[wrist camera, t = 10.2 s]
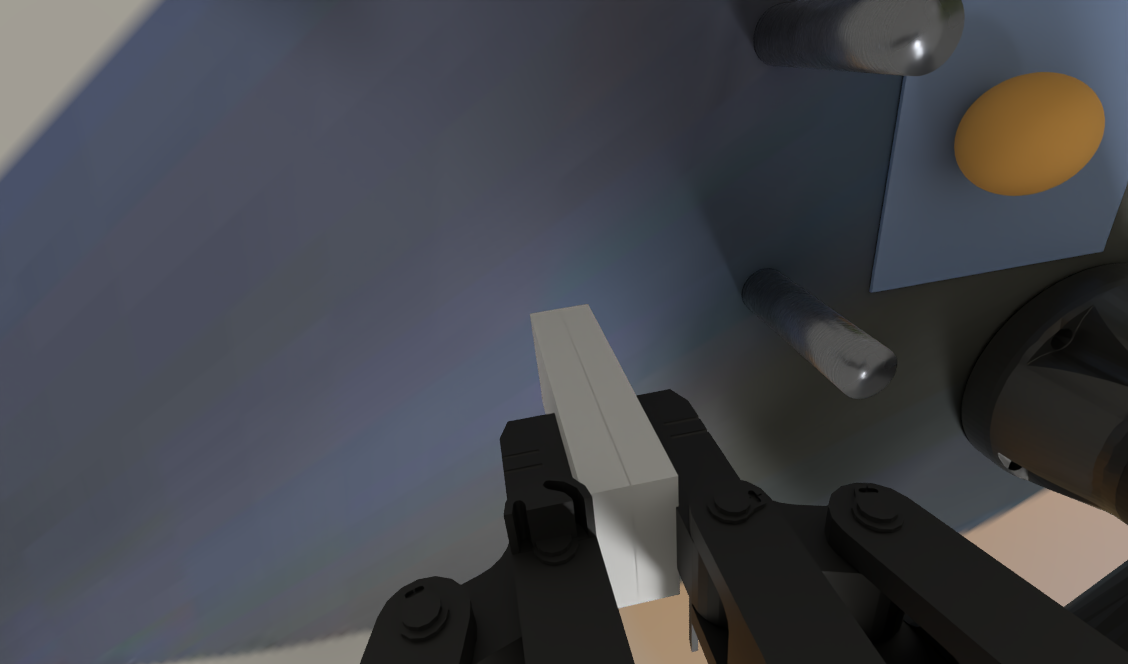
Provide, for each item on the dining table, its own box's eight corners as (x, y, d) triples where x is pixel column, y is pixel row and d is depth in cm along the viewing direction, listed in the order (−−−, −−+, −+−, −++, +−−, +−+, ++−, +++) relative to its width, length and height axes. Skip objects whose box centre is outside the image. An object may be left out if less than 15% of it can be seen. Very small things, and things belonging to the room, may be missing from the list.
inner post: (783, 306, 32) (891, 392, 24) (741, 314, 32) (836, 403, 24) (786, 265, 31) (901, 341, 23) (743, 272, 31) (844, 352, 23)
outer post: (803, 62, 26) (954, 71, 18) (752, 69, 26) (883, 80, 18) (808, 0, 25) (972, -20, 17) (755, 6, 25) (896, -11, 17)
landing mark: (1099, 250, 34) (1103, 251, 34) (869, 291, 33) (871, 292, 33) (1204, -47, 27) (1209, -47, 27) (917, -13, 26) (921, -13, 26)
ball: (974, 216, 26) (930, 185, 31) (1116, 203, 25) (1048, 172, 30) (995, 90, 24) (944, 76, 29) (1154, 67, 23) (1073, 57, 27)
